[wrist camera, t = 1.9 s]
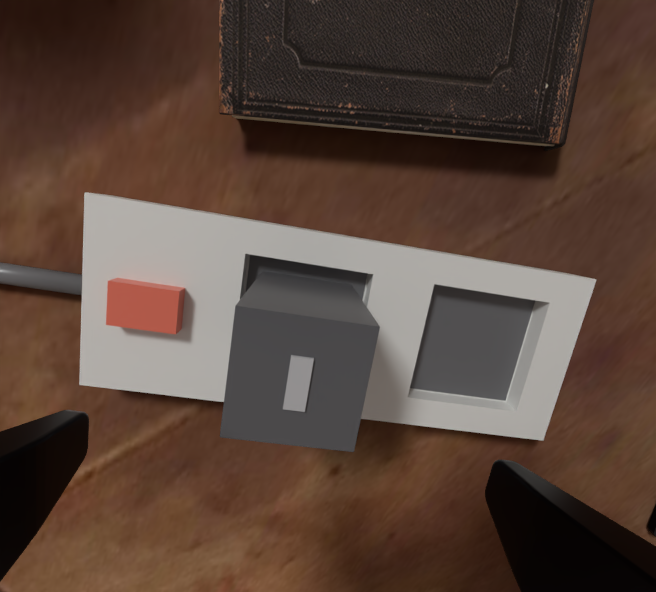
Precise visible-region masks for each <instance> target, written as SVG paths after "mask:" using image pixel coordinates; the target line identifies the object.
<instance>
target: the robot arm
mask: <svg viewBox="0 0 656 592" xmlns="http://www.w3.org/2000/svg"><path fill="white" fill-rule="evenodd" d="M88 431H89V417H88V415H87V414H86V413H85V412H81V411H72V410H64V411H60V412H57V413H54V414H51V415H48V416H46V417H43V418H40V419H37V420H34V421H31V422H28V423H25V424H22V425H19V426H16V427H13V428H10V429H7V430H4V431H1V432H0V581H1V580H2V579H3V577H4V576H5V575H6V573H7V572H8V571H9V570H10V568H11V567H12V566H13V564H14V563H15V562H16V560H17V559H18V558H19V556H20V555H21V554H22V553H23V551H24V550H25V549H26V547H27V546H28V545H29V543H30V542H31V540H32V539H33V538H34V536H35V535H36V534H37V532H38V531H39V529H40V528H41V526H42V525H43V523H44V522H45V520H46V519H47V517H48V515H49V514H50V512H51V511H52V509H53V507H54V506H55V504H56V503H57V501H58V500H59V498H60V496H61V495H62V493H63V492H64V490H65V489H66V487H67V485H68V484H69V482H70V481H71V479H72V477H73V476H74V474H75V473H76V471H77V470H78V468H79V466H80V465H81V463H82V462H83V460H84V458H85V456H86V453H87V449H88ZM485 498H486V502H487V505H488V508H489V510H490V513H491V516H492V519H493V521H494V524H495V527H496V529H497V532H498V535H499V538H500V540H501V543H502V546H503V548H504V551H505V554H506V557H507V559H508V562H509V564H510V567H511V569H512V572H513V574H514V577H515V579H516V581H517V583H518V586H519V588H520V590H521V592H656V546H654V545H653V544H651V543H649V542H648V541H646V540H644V539H643V538H641V537H639V536H638V535H636V534H634V533H633V532H631V531H629V530H628V529H626V528H624V527H623V526H621V525H619V524H618V523H616V522H614V521H613V520H611V519H609V518H608V517H606V516H604V515H603V514H601V513H599V512H598V511H596V510H594V509H593V508H591V507H589V506H588V505H586V504H584V503H583V502H581V501H579V500H578V499H576V498H574V497H573V496H571V495H569V494H568V493H566V492H564V491H563V490H561V489H560V488H558V487H556V486H555V485H553V484H551V483H550V482H548V481H546V480H545V479H543V478H541V477H540V476H538V475H536V474H535V473H533V472H531V471H530V470H528V469H526V468H525V467H523V466H521V465H520V464H518V463H516V462H514V461H507V460H497V461H495V462H494V463H493V466H492V469H491V473H490V476H489V479H488V482H487V486H486V490H485ZM648 529H649V531H650V532H651V533H652V534H653V535H654V536H655V537H656V509H655V512H654V514H653V517H652V519H651V521H650V524H649V526H648Z"/></svg>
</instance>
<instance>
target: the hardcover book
mask: <svg viewBox="0 0 656 592" xmlns="http://www.w3.org/2000/svg"><path fill="white" fill-rule="evenodd" d="M593 2H594V0H220V46H219V113H220V114H224V115H232V117H236V118H238V119H249V120H260V121H271V122H282V123H293V124H305V125H316V126H327V127H338V128H349V129H360V130H371V131H382V132H393V133H404V134H415V135H426V136H437V137H448V138H459V139H470V140H481V141H492V142H503V143H514V144H525V145H536V146H545V149H544V150H545V151H547V150H551V149H555V148H558V147H562V146H563V145H564V144H565V142H566V137H567V132H568V127H569V122H570V117H571V112H572V107H573V102H574V97H575V92H576V87H577V82H578V77H579V72H580V67H581V62H582V57H583V52H584V47H585V42H586V37H587V32H588V27H589V22H590V17H591V12H592V7H593Z"/></svg>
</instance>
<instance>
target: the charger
mask: <svg viewBox="0 0 656 592" xmlns="http://www.w3.org/2000/svg"><path fill="white" fill-rule="evenodd" d="M379 329H380V326H379V325H378V323H377V322H376V320H375V319H374V317H373V316H372V314H371V313H370V311H369V310H368V308H367V307H366V305H365V304H364V302H363V301H362V300H361V298H360V297H359V295H358V294H357V292H356V291H355V289H354V288H353V286H352V285H351V284H345V283H339V282H332V281H326V280H320V279H313V278H307V277H301V276H294V275H288V274H282V273H275V272H269V271H262V273H261V274H260V275H259V276H258V278H257V279H256V280H255V281H254V283H253V284H252V285H251V286H250V288H249V289H248V290H247V292H246V293H245V294H244V295H243V297H242V298H241V299H240V300H239V302H238V303H237V304H236V306H235V314H234V322H233V330H232V339H231V347H230V355H229V364H228V372H227V381H226V389H225V397H224V406H223V414H222V422H221V431H220V437H222V438H231V439H240V440H249V441H258V442H267V443H276V444H285V445H294V446H303V447H312V448H321V449H330V450H339V451H348V452H354V449H355V444H356V439H357V435H358V430H359V425H360V420H361V415H362V411H363V406H364V401H365V396H366V392H367V387H368V382H369V377H370V372H371V368H372V363H373V358H374V353H375V348H376V344H377V339H378V334H379Z"/></svg>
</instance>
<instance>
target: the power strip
mask: <svg viewBox="0 0 656 592" xmlns="http://www.w3.org/2000/svg"><path fill="white" fill-rule="evenodd" d="M262 271H269V272H275V273H282V274H288V275H294V276H301V277H307V278H313V279H320V280H326V281H332V282H339V283H345V284H351V285H352V286H353V288H354V289H355V291H356V292H357V294H358V295H359V297H360V298H361V300H362V301H363V302H364V304H365V305H366V307H367V308H368V310H369V311H370V313H371V314H372V316H373V317H374V319H375V320H376V322H377V323H378V325H379V326H380V329H379V334H378V339H377V344H376V348H375V353H374V358H373V363H372V368H371V372H370V377H369V382H368V387H367V392H366V396H365V401H364V406H363V411H362V415H361V419H368V420H376V421H384V422H393V423H401V424H409V425H417V426H426V427H434V428H442V429H451V430H459V431H467V432H476V433H484V434H492V435H500V436H509V437H517V438H525V439H534V440H542V441H543V440H544V437H545V434H546V431H547V428H548V424H549V421H550V418H551V415H552V412H553V409H554V406H555V403H556V400H557V397H558V394H559V391H560V388H561V385H562V382H563V379H564V376H565V373H566V370H567V367H568V364H569V361H570V358H571V355H572V352H573V349H574V346H575V343H576V340H577V337H578V334H579V331H580V328H581V325H582V322H583V319H584V316H585V313H586V310H587V307H588V304H589V301H590V298H591V295H592V292H593V289H594V286H595V283H596V279H592V278H587V277H582V276H578V275H573V274H568V273H563V272H557V271H551V270H545V269H539V268H533V267H528V266H522V265H516V264H510V263H504V262H498V261H493V260H487V259H481V258H475V257H469V256H463V255H457V254H452V253H446V252H440V251H434V250H428V249H422V248H416V247H411V246H405V245H399V244H393V243H387V242H381V241H375V240H370V239H364V238H358V237H352V236H346V235H340V234H334V233H329V232H323V231H317V230H311V229H305V228H299V227H294V226H288V225H282V224H276V223H270V222H264V221H258V220H253V219H247V218H241V217H235V216H229V215H223V214H217V213H212V212H206V211H200V210H194V209H188V208H182V207H176V206H171V205H165V204H159V203H153V202H147V201H141V200H136V199H130V198H124V197H118V196H112V195H104V194H95V193H86V192H85V196H84V233H83V270H82V275H81V274H75V273H68V272H61V271H54V270H48V269H41V268H34V267H28V266H21V265H14V264H8V263H1V262H0V283H1V284H8V285H15V286H21V287H28V288H35V289H42V290H49V291H56V292H63V293H70V294H77V295H82V308H81V345H80V382H79V385H86V386H94V387H102V388H111V389H119V390H127V391H135V392H144V393H152V394H160V395H169V396H177V397H185V398H194V399H202V400H210V401H218V402H224V397H225V389H226V381H227V372H228V364H229V355H230V347H231V339H232V330H233V322H234V314H235V306H236V304H237V303H238V302H239V300H240V299H241V298H242V297H243V295H244V294H245V293H246V292H247V290H248V289H249V288H250V286H251V285H252V284H253V283H254V281H255V280H256V279H257V278H258V276H259V275H260V274H261V273H262Z"/></svg>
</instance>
